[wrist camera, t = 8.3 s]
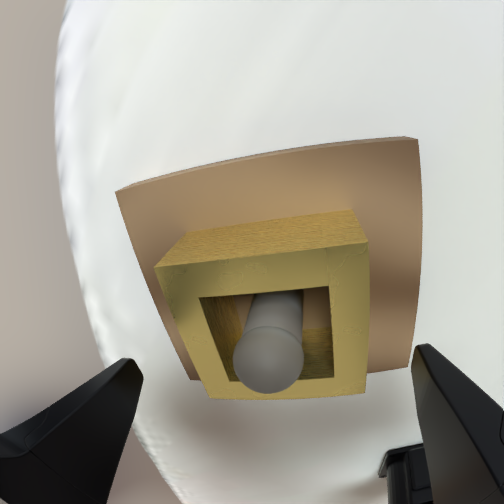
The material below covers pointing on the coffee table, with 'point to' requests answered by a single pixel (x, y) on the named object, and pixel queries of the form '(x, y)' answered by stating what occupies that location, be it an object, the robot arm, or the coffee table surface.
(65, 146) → the coffee table surface
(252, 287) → the brass square frame
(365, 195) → the brown base plate
